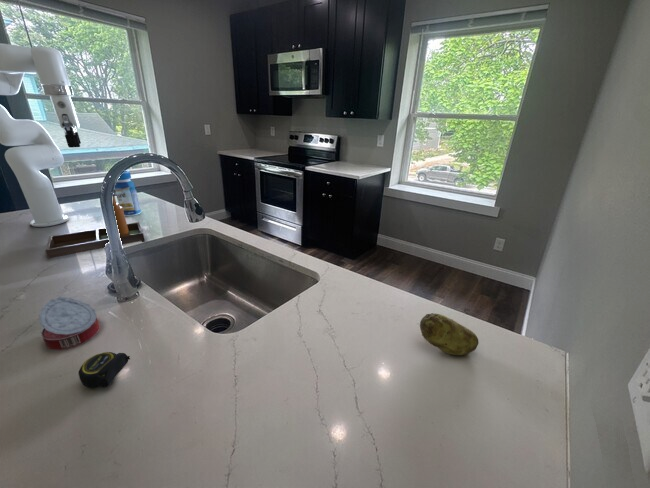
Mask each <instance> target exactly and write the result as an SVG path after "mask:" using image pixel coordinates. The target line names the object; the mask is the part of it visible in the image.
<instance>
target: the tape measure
mask: <svg viewBox="0 0 650 488" xmlns="http://www.w3.org/2000/svg"><path fill="white" fill-rule="evenodd" d="M129 360H131V356H130V355H128V354H126V353H125V352H118V353H115V352H111V351H105V352H101V353H97V354H95V355H93V356H91V357H90V358H88V359H86V360H85V361H84V362H83V363H82V364H81V366H80V368H79V370H78V373H77V374H78V378H79V381H80V382H81V384H82V386H84V387H86V388H87V389H96V388H101V389H102V388H103V389H104V388H107V387H110V385H111V384H112V383H113V382H114V380H115V379H116V377H118V375H119V374H120V372H121V371H122V370H123V369H124V367H126V365H127V364H128V362H129Z"/></svg>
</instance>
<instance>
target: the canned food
mask: <svg viewBox="0 0 650 488" xmlns="http://www.w3.org/2000/svg"><path fill="white" fill-rule="evenodd" d="M40 310H41V311H40V312H39V314H38V317H39V324H40V326H41V327H42V328H43V329H42V330H41V332H40V333H41V337H42V339H43V341H44V343H45V346H46V347H47V348H48V349H50V350H52V351H64V350H69V349H70V350H71V349H73V348H76V347H79V346H81V345H84V344H86V343H87V342H89V341H91V339H93V338H94V337H95V336H96V335H97V334H98V333H99V331H100V329H101V325H100V323H99V320H98V318H97V313H96V310H95V309H94V308H93V307H92V306H91V305H90V304H89V303H85V302H84V301H82V300H78V299H75V298H73V297H65V296H59V297H57V298H52V299H51V300H49V301H48V302H47V303H45V304H44V305H43V306H42V309H40Z"/></svg>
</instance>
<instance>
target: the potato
mask: <svg viewBox="0 0 650 488" xmlns="http://www.w3.org/2000/svg"><path fill="white" fill-rule="evenodd" d="M419 330H420V333H421V336H422V337H423V339H424V340H425V341H426V342H428V343H429V344H430V345H431V346H433V347H435V348H437V349H439V350H440V351H442V352H443V353H445V354H448V355H451V356H463V355H468V354H470V353H472V352H474V351H475V350H476V349H477V348H478V346H479V337H478V336H477V335H476V333H474V332H473V331H472V330H471V329H469V328H468V327H466V326H464V325H463V324H461V323H459V322H457V321H455V320H454V319H452V318H450V317H447V316H446V315H444V314H439V313H433V312H432V313H427V314H425V315H424V316H422V318H421V320H420V323H419Z"/></svg>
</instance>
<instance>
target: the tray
mask: <svg viewBox="0 0 650 488" xmlns="http://www.w3.org/2000/svg"><path fill="white" fill-rule="evenodd" d="M127 226H128V230H129V234H130V235H126V236H120V238H121V241H122V245H127V244H133V243H138V242H141V243H145V242H146V240H145V236H144V232H143V229H142V226H141V224H140V222H139V221H138V222H132V223H131V222H130V223H127ZM108 242H109V240H108V236H107V233H106V229H105V227H99V228H94V229H86V230H79V231H74V232H68V233H67V232H66V233H61V234H54V235H50V236H48V240H47V244H46V247H45V253H46V255H47V258H48V259H52V258H58V257H64V256H67V255H68V256H69V255H75V254H79V253H85V252H90V251H95V250H101V249H105V248H104V247H105V244H106V243H108ZM122 245H121V246H122Z"/></svg>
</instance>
